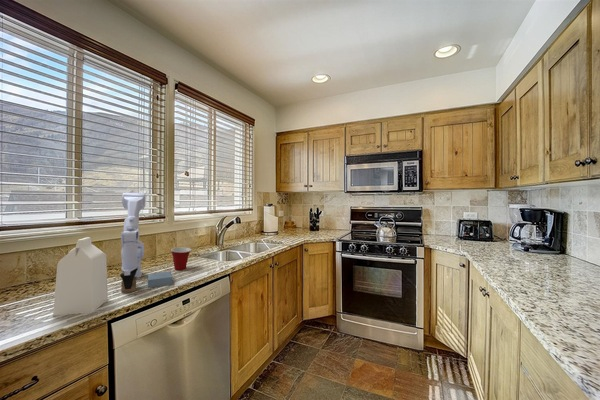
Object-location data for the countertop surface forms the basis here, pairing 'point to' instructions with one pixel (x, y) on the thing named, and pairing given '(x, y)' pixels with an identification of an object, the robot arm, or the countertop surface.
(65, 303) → the milk
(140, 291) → the countertop surface
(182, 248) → the plastic cup
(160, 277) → the slate block
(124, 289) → the walnut cube
